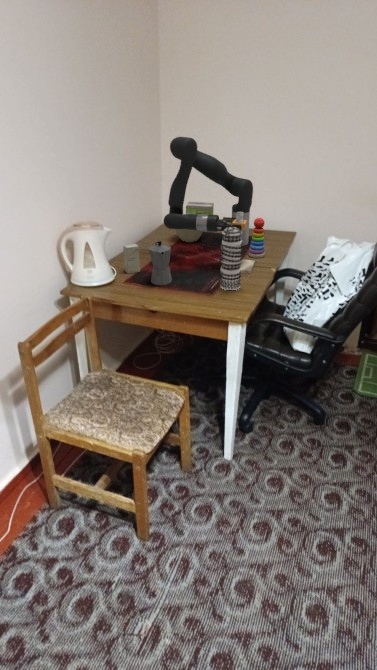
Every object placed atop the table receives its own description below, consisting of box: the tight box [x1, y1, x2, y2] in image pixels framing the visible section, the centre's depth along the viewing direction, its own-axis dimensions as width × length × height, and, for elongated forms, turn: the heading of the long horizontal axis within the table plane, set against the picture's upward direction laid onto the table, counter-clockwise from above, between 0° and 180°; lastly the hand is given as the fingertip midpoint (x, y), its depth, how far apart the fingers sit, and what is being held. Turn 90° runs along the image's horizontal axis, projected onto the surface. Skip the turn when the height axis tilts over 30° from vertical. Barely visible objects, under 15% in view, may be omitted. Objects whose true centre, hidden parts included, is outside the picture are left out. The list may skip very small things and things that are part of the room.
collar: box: [232, 220, 247, 230], centre depth 203 cm, size 6×6×3 cm
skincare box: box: [122, 243, 141, 274], centre depth 207 cm, size 6×4×12 cm
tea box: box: [185, 201, 214, 215], centre depth 265 cm, size 15×10×15 cm, turn 80°
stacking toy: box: [248, 217, 266, 259], centre depth 222 cm, size 8×8×19 cm
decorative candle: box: [219, 227, 244, 291], centre depth 186 cm, size 9×9×25 cm
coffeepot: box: [148, 240, 173, 286], centre depth 195 cm, size 15×9×18 cm, turn 13°
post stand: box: [219, 212, 256, 275], centre depth 206 cm, size 14×14×26 cm
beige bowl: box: [174, 213, 204, 243], centre depth 247 cm, size 18×18×12 cm
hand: (243, 225), depth 202 cm, fingers open, 8 cm apart
